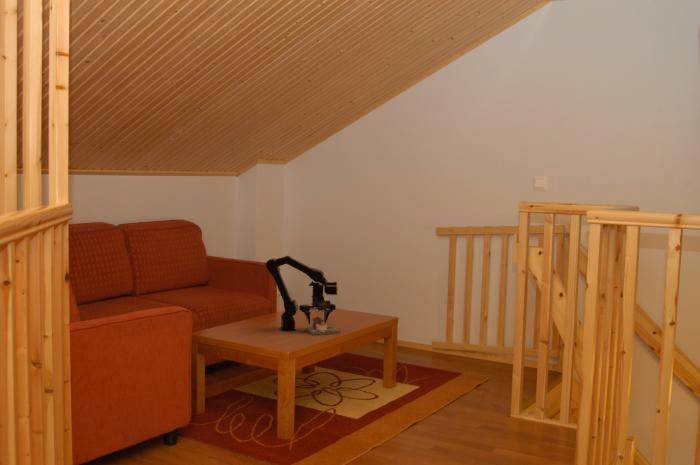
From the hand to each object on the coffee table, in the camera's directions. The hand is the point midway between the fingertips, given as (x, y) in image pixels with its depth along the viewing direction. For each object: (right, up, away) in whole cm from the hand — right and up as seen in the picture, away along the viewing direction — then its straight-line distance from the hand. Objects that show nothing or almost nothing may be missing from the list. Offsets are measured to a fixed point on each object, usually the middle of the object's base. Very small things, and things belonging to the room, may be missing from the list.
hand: (317, 323), depth 415 cm
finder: (+2, -3, -5) cm, 6 cm away
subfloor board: (+3, -4, -2) cm, 5 cm away
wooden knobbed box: (0, -2, 0) cm, 2 cm away
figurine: (0, -2, +26) cm, 26 cm away
